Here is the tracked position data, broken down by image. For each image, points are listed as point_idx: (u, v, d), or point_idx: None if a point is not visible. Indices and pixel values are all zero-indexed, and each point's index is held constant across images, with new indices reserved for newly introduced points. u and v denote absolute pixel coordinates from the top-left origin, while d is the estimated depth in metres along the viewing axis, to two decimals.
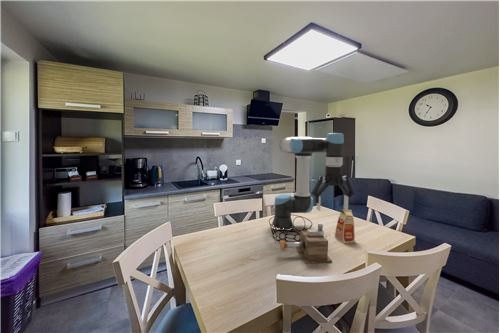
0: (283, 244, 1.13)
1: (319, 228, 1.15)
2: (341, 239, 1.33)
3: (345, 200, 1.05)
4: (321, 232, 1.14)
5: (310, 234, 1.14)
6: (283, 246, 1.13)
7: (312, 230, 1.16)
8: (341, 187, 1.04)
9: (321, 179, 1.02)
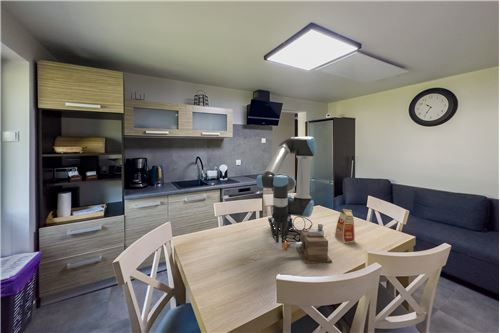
0: (286, 244, 1.13)
1: (319, 228, 1.15)
2: (341, 239, 1.33)
3: None
4: (321, 232, 1.14)
5: (310, 234, 1.14)
6: (286, 246, 1.13)
7: (312, 230, 1.16)
8: (281, 226, 1.13)
9: (270, 221, 1.12)
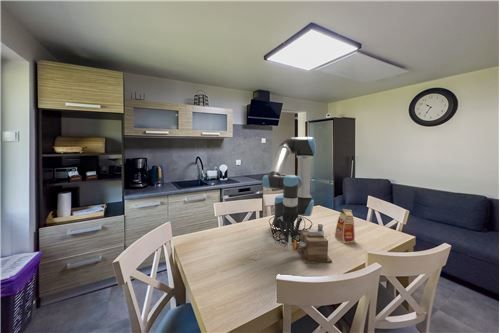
0: (295, 244, 1.14)
1: (319, 228, 1.15)
2: (341, 239, 1.33)
3: None
4: (321, 232, 1.14)
5: (310, 234, 1.14)
6: (295, 246, 1.13)
7: (312, 230, 1.16)
8: (291, 225, 1.14)
9: (280, 221, 1.13)
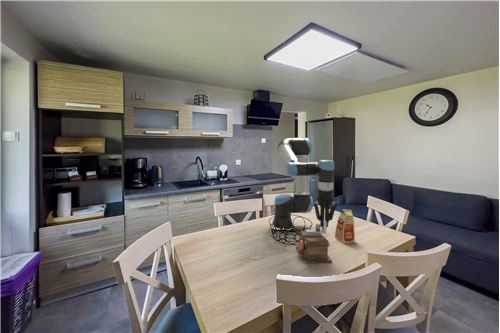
0: (302, 243, 1.14)
1: (317, 228, 1.15)
2: (341, 239, 1.33)
3: None
4: (319, 232, 1.14)
5: (308, 234, 1.14)
6: (303, 245, 1.13)
7: (310, 230, 1.16)
8: (326, 210, 1.14)
9: (316, 205, 1.13)
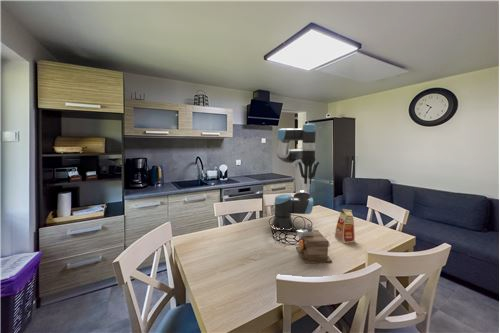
0: (302, 243, 1.14)
1: (309, 228, 1.14)
2: (341, 239, 1.33)
3: None
4: (311, 232, 1.14)
5: (299, 234, 1.14)
6: (303, 245, 1.13)
7: (302, 230, 1.15)
8: (309, 168, 1.30)
9: (300, 164, 1.29)
